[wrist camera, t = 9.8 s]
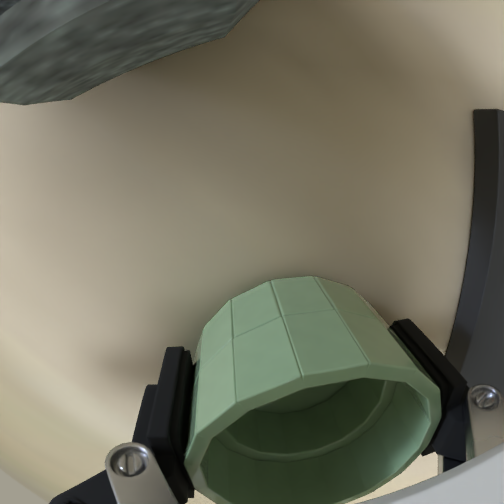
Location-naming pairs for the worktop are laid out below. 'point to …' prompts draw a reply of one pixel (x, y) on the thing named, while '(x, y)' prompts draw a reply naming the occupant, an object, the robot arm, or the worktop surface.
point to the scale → (484, 264)
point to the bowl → (303, 398)
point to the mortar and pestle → (98, 40)
